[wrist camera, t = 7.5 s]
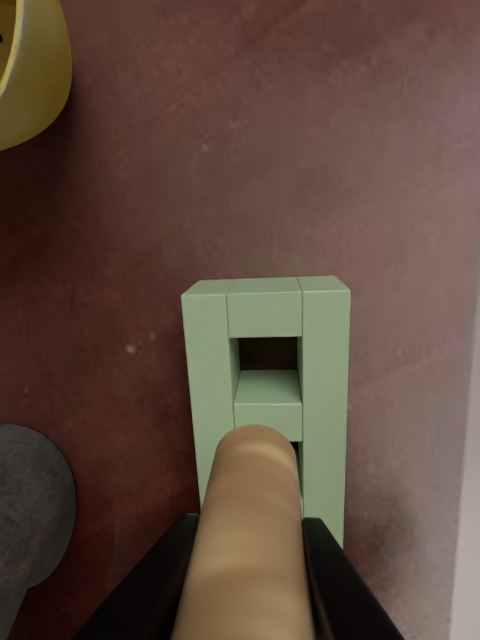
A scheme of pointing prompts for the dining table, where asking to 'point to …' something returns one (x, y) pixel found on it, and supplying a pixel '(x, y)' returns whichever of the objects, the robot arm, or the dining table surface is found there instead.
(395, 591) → the dining table surface
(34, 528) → the grey stone cylinder
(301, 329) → the peg board
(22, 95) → the flower pot
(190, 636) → the peg
